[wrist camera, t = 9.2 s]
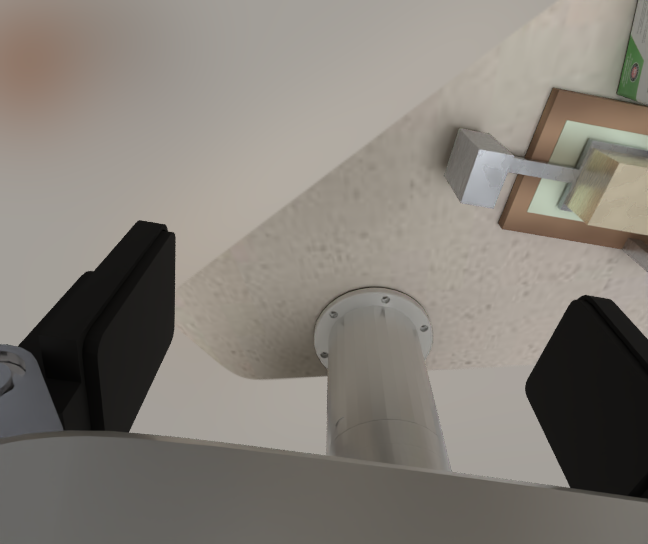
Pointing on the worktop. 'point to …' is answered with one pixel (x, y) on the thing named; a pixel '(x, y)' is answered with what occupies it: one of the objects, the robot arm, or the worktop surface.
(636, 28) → the ink box
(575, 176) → the grey dumbbell
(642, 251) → the tunnel
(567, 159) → the board
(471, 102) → the worktop surface
